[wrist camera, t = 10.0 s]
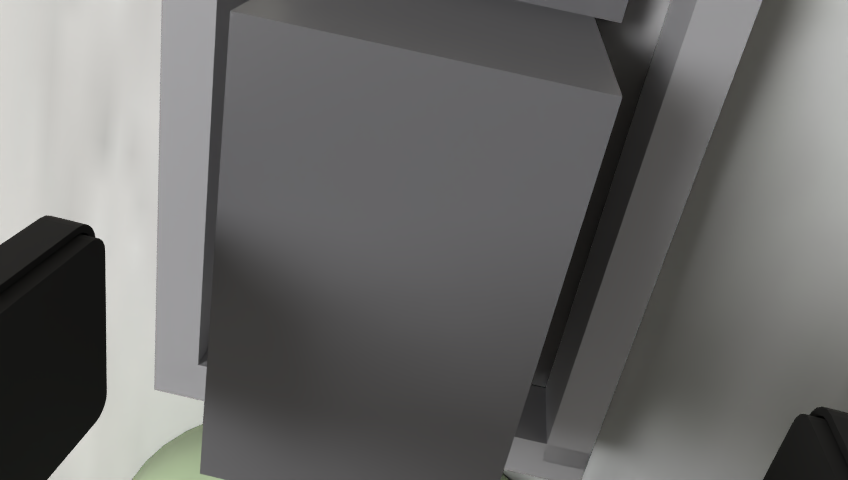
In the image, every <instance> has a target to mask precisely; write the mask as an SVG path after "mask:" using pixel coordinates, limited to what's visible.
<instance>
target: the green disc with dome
mask: <svg viewBox="0 0 848 480" xmlns="http://www.w3.org/2000/svg"><path fill="white" fill-rule="evenodd" d="M247 1H249V0H162V19H161V71H160V124H159V176H158V228H157V281H156V333H155V385H154V390H158V391H163V392H167V393H171V394H176V395H180V396H184V397H189V398H193V399H198V400H202V401H205V387H206V371H207V356H208V341H209V326H210V310H211V295H212V280H213V265H214V249H215V234H216V219H217V204H218V188H219V173H220V158H221V143H222V128H223V112H224V97H225V82H226V67H227V51H228V36H229V21H230V11H231V10H233V9H234V8H236V7H238V6H240V5H242V4H244V3H245V2H247ZM761 3H762V0H671V1H670V5H669V8H668V11H667V14H666V17H665V20H664V23H663V26H662V29H661V32H660V35H659V39H658V42H657V45H656V48H655V51H654V54H653V57H652V60H651V63H650V66H649V70H648V73H647V76H646V79H645V82H644V85H643V88H642V91H641V94H640V97H639V100H638V104H637V107H636V110H635V113H634V116H633V119H632V122H631V125H630V128H629V131H628V135H627V138H626V141H625V144H624V147H623V150H622V153H621V156H620V159H619V162H618V165H617V169H616V172H615V175H614V178H613V181H612V184H611V187H610V190H609V193H608V196H607V200H606V203H605V206H604V209H603V212H602V215H601V218H600V221H599V224H598V227H597V231H596V234H595V237H594V240H593V243H592V246H591V249H590V252H589V255H588V258H587V261H586V265H585V268H584V271H583V274H582V277H581V280H580V283H579V286H578V289H577V292H576V296H575V299H574V302H573V305H572V308H571V311H570V314H569V317H568V320H567V323H566V326H565V330H564V333H563V336H562V339H561V342H560V345H559V348H558V351H557V354H556V357H555V361H554V364H553V367H552V370H551V373H550V376H549V379H548V382H547V385H546V388H542V387H538V386H533V385H531V386H530V389H529V392H528V395H527V399H526V402H525V405H524V408H523V411H522V414H521V417H520V421H519V424H518V427H517V430H516V433H515V436H514V439H513V443H512V446H511V449H510V452H509V455H508V458H507V461H506V465H505V468H504V470H509V471H513V472H517V473H522V474H526V475H531V476H535V477H539V478H544V479H548V480H581V479H582V477H583V474H584V472H585V469H586V466H587V464H588V461H589V458H590V456H591V453H592V450H593V448H594V445H595V442H596V440H597V437H598V434H599V432H600V429H601V427H602V424H603V421H604V419H605V416H606V413H607V411H608V408H609V405H610V403H611V400H612V397H613V395H614V392H615V389H616V387H617V384H618V382H619V379H620V376H621V374H622V371H623V368H624V366H625V363H626V360H627V358H628V355H629V352H630V350H631V347H632V344H633V342H634V339H635V337H636V334H637V331H638V329H639V326H640V323H641V321H642V318H643V315H644V313H645V310H646V307H647V305H648V302H649V299H650V297H651V294H652V292H653V289H654V286H655V284H656V281H657V278H658V276H659V273H660V270H661V268H662V265H663V262H664V260H665V257H666V254H667V252H668V249H669V247H670V244H671V241H672V239H673V236H674V233H675V231H676V228H677V225H678V223H679V220H680V217H681V215H682V212H683V209H684V207H685V204H686V201H687V199H688V196H689V194H690V191H691V188H692V186H693V183H694V180H695V178H696V175H697V172H698V170H699V167H700V164H701V162H702V159H703V156H704V154H705V151H706V149H707V146H708V143H709V141H710V138H711V135H712V133H713V130H714V127H715V125H716V122H717V119H718V117H719V114H720V111H721V109H722V106H723V104H724V101H725V98H726V96H727V93H728V90H729V88H730V85H731V82H732V80H733V77H734V74H735V72H736V69H737V66H738V64H739V61H740V59H741V56H742V53H743V51H744V48H745V45H746V43H747V40H748V37H749V35H750V32H751V29H752V27H753V24H754V21H755V19H756V16H757V14H758V11H759V8H760V6H761ZM202 432H203V424H202V425H199V426H197V427H195V428H193V429H190V430H188V431H186V432H184V433H183V434H181V435H180V436H178V437H176V438H175V439H173V440H172V441H170V442H168V443H167V444H165V445H164V446H163V447H162V448H161V449H159V450H158V451H157V452H156V453H155V454H154V455H153V456H152V457H150V458H149V459H148V460H147V461H146V462H145V463H144V465H143V466H142V467H141V469H140V470H139V471H138V472H137V474H136V475H135V476H134V478H133V479H132V480H224V479H220V478H216V477H212V476H207V475H203V474H200V463H201V448H202ZM501 480H509V479H508V478H507V477H505V476H504V475H503V474H502V477H501Z"/></svg>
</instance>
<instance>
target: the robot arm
mask: <svg viewBox="0 0 848 480" xmlns="http://www.w3.org/2000/svg"><path fill="white" fill-rule="evenodd" d="M106 395H107V379H106V287H105V246H104V243H103V241H102V240H100V239H98V238H95V233H94V231H93V229H92V228H91V227H90V226H89V225H86V224H82V223H78V222H74V221H70V220H66V219H62V218H58V217H53V216H44V217H42V218H40V219H38V220H37V221H35V222H34V223H32V224H31V225H29V226H28V227H26V228H25V229H23V230H22V231H20V232H19V233H17V234H16V235H14V236H13V237H11V238H10V239H8V240H7V241H5V242H4V243H2V244H1V245H0V480H47V479H48V478H49V477H50V476H51V474H52V473H53V472H54V471H55V470H56V468H57V467H58V466H59V465H60V464H61V463H62V461H63V460H64V459H65V458H66V457H67V455H68V454H69V453H70V452H71V451H72V450H73V448H74V447H75V446H76V445H77V444H78V442H79V441H80V440H81V439H82V438H83V437H84V435H85V434H86V433H87V432H88V431H89V429H90V428H91V427H92V426H93V425H94V424H95V422H96V421H97V420H98V418H99V417H100V415H101V413H102V411H103V408H104V405H105V401H106ZM763 480H848V413H845V412H841V411H837V410H833V409H829V408H825V407H819V408H816V409H815V410H814V411H812V412H811V414H810V415H806V414H800V415H799V416H798V417H796V419H795V420H794V422H793V423H792V425H791V427H790V429H789V431H788V433H787V435H786V437H785V439H784V441H783V442H782V444H781V446H780V448H779V450H778V452H777V454H776V456H775V458H774V460H773V462H772V464H771V465H770V467H769V469H768V471H767V473H766V475H765V477H764V479H763Z"/></svg>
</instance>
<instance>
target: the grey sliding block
mask: <svg viewBox="0 0 848 480" xmlns="http://www.w3.org/2000/svg"><path fill="white" fill-rule="evenodd" d="M627 4H628V0H249V1H247V2H245V3H244V4H242V5H240V6H238V7H236V8H234V9H233V10H231V11H230V21H229V36H228V51H227V67H226V82H225V97H224V112H223V128H222V143H221V158H220V173H219V188H218V204H217V219H216V234H215V249H214V265H213V280H212V295H211V310H210V326H209V341H208V356H207V371H206V387H205V402H204V417H203V432H202V448H201V463H200V474H203V475H207V476H212V477H216V478H220V479H224V480H501V477H502V474H503V471H504V468H505V465H506V461H507V458H508V455H509V452H510V449H511V446H512V443H513V439H514V436H515V433H516V430H517V427H518V424H519V421H520V417H521V414H522V411H523V408H524V405H525V402H526V399H527V395H528V392H529V389H530V386H531V383H532V380H533V377H534V373H535V370H536V367H537V364H538V361H539V358H540V355H541V351H542V348H543V345H544V342H545V339H546V336H547V333H548V330H549V326H550V323H551V320H552V317H553V314H554V311H555V308H556V304H557V301H558V298H559V295H560V292H561V289H562V286H563V282H564V279H565V276H566V273H567V270H568V267H569V264H570V260H571V257H572V254H573V251H574V248H575V245H576V242H577V238H578V235H579V232H580V229H581V226H582V223H583V220H584V216H585V213H586V210H587V207H588V204H589V201H590V198H591V194H592V191H593V188H594V185H595V182H596V179H597V176H598V172H599V169H600V166H601V163H602V160H603V157H604V154H605V150H606V147H607V144H608V141H609V138H610V135H611V132H612V129H613V125H614V122H615V119H616V116H617V113H618V110H619V107H620V103H621V100H622V94H621V91H620V88H619V85H618V83H617V80H616V77H615V74H614V71H613V69H612V66H611V63H610V60H609V57H608V54H607V52H606V49H605V46H604V43H603V40H602V37H601V35H600V32H599V29H598V26H597V23H596V21H595V18H600V19H604V20H609V21H614V22H618V23H622V20H623V17H624V14H625V10H626V7H627ZM594 17H595V18H594Z"/></svg>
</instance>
